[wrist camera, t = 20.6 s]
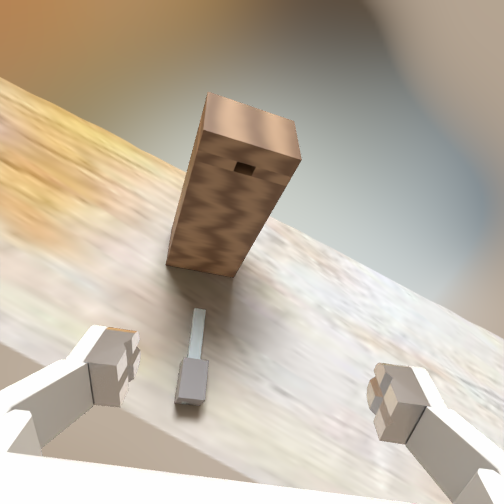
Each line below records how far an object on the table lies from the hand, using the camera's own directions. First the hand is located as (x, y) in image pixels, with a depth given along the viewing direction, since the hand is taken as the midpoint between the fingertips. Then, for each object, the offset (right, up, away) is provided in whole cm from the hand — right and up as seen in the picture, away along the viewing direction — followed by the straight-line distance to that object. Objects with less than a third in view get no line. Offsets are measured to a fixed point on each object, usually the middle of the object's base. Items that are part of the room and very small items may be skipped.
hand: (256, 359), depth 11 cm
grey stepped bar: (-10, -14, +45) cm, 48 cm away
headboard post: (-11, +4, +58) cm, 59 cm away
